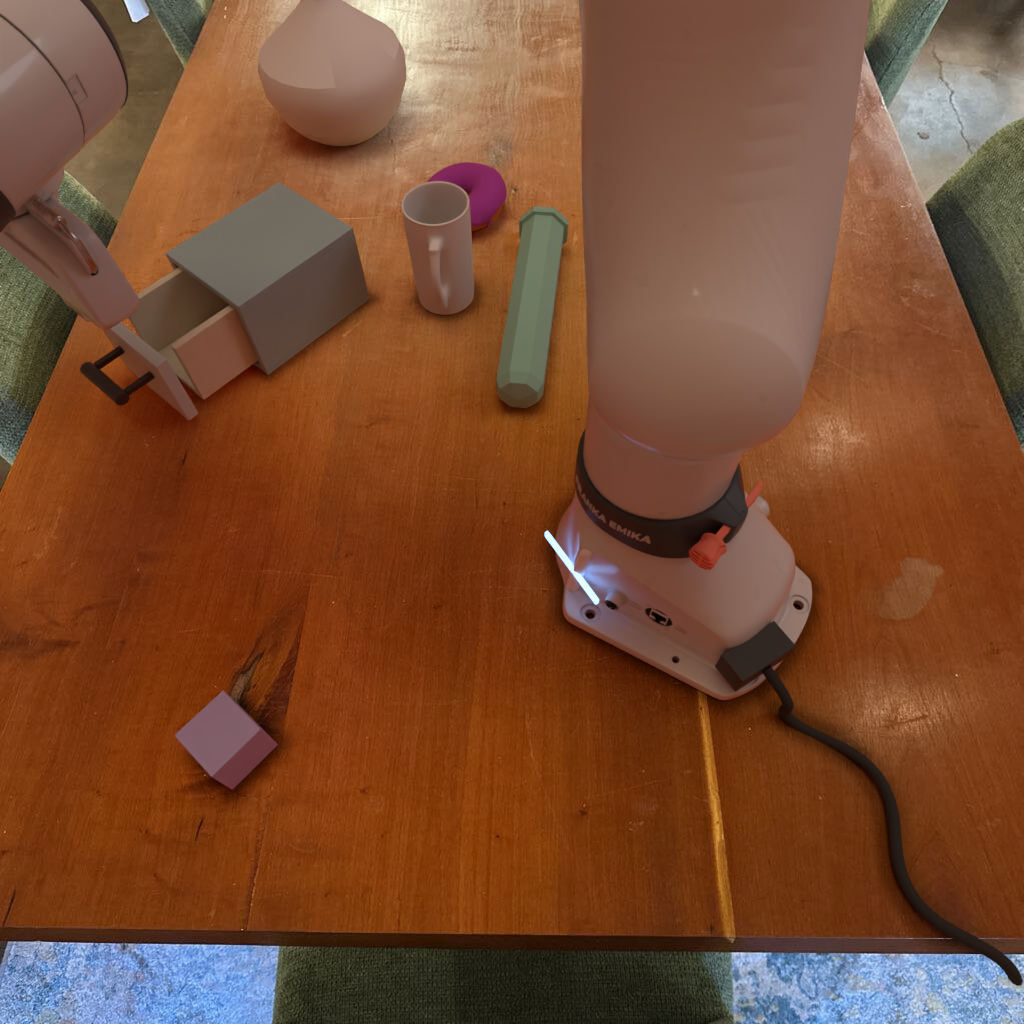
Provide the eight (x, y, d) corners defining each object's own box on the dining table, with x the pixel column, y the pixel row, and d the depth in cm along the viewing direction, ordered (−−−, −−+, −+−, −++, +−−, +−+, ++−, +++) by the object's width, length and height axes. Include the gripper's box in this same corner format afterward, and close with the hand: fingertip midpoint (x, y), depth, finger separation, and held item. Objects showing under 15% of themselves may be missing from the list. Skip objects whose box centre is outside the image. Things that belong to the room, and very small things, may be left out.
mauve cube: (278, 744, 60) (260, 729, 56) (232, 790, 58) (211, 777, 54) (242, 707, 61) (223, 690, 57) (196, 750, 60) (173, 735, 56)
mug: (418, 274, 87) (404, 181, 77) (477, 274, 87) (470, 180, 77) (411, 339, 82) (394, 248, 71) (474, 339, 82) (466, 248, 71)
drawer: (152, 447, 74) (115, 395, 67) (92, 393, 78) (51, 339, 71) (293, 343, 81) (272, 286, 74) (232, 298, 84) (206, 240, 78)
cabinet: (268, 375, 80) (238, 306, 71) (200, 323, 84) (164, 252, 75) (370, 299, 85) (353, 227, 77) (302, 254, 89) (279, 181, 81)
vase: (250, 123, 103) (198, -37, 87) (360, 71, 109) (330, -88, 93) (328, 185, 96) (287, 23, 79) (441, 125, 102) (424, -37, 86)
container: (534, 374, 71) (559, 198, 83) (477, 385, 73) (509, 213, 86) (556, 413, 75) (577, 240, 88) (502, 422, 78) (530, 253, 90)
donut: (462, 176, 96) (459, 142, 92) (525, 208, 93) (525, 174, 89) (406, 219, 92) (401, 185, 88) (470, 253, 89) (468, 220, 85)
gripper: (108, 201, 51) (189, 346, 63) (-40, 94, 59) (57, 242, 70) (24, 250, 49) (124, 391, 61) (-119, 132, 56) (-5, 278, 68)
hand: (87, 310), depth 66 cm, fingers closed
